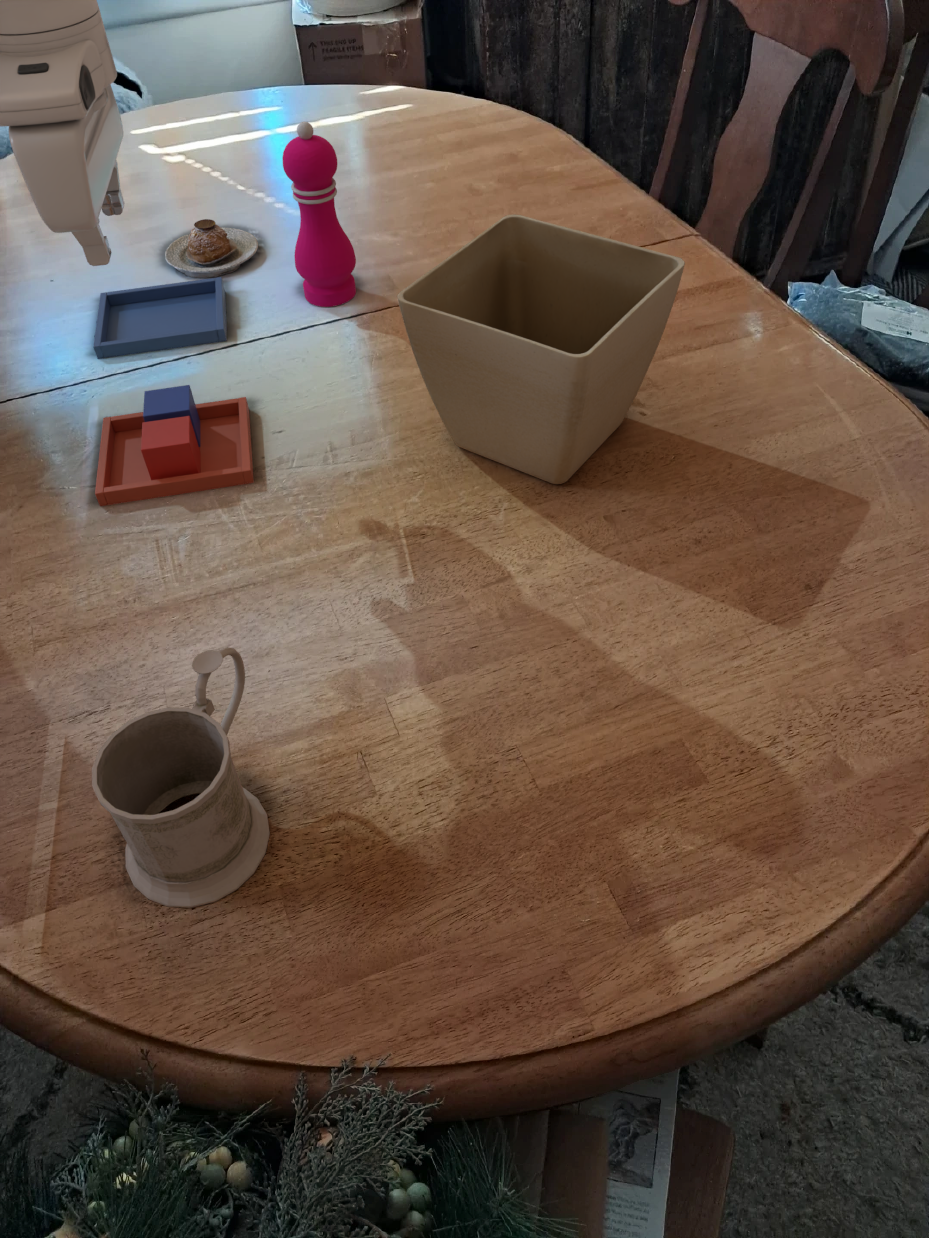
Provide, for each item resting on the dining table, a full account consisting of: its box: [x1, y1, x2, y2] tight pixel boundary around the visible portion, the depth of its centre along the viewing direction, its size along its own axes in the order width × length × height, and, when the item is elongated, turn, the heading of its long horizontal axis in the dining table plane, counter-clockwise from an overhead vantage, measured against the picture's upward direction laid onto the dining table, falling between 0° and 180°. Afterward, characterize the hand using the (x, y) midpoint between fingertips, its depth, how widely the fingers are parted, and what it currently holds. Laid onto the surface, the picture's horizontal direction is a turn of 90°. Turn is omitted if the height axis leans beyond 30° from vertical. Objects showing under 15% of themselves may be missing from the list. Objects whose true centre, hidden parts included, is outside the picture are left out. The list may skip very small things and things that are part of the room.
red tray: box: [94, 396, 255, 507], centre depth 98 cm, size 15×13×2 cm
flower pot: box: [396, 213, 686, 485], centre depth 93 cm, size 19×19×17 cm
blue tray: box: [92, 276, 228, 360], centre depth 117 cm, size 15×13×2 cm
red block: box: [141, 416, 201, 480], centre depth 95 cm, size 4×4×4 cm
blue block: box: [142, 384, 200, 447], centre depth 99 cm, size 4×4×4 cm
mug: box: [91, 646, 271, 909], centre depth 66 cm, size 14×10×12 cm
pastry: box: [164, 218, 259, 279], centre depth 127 cm, size 12×12×5 cm
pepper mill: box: [282, 121, 357, 308], centre depth 113 cm, size 7×7×20 cm
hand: (108, 236), depth 85 cm, fingers open, 8 cm apart
